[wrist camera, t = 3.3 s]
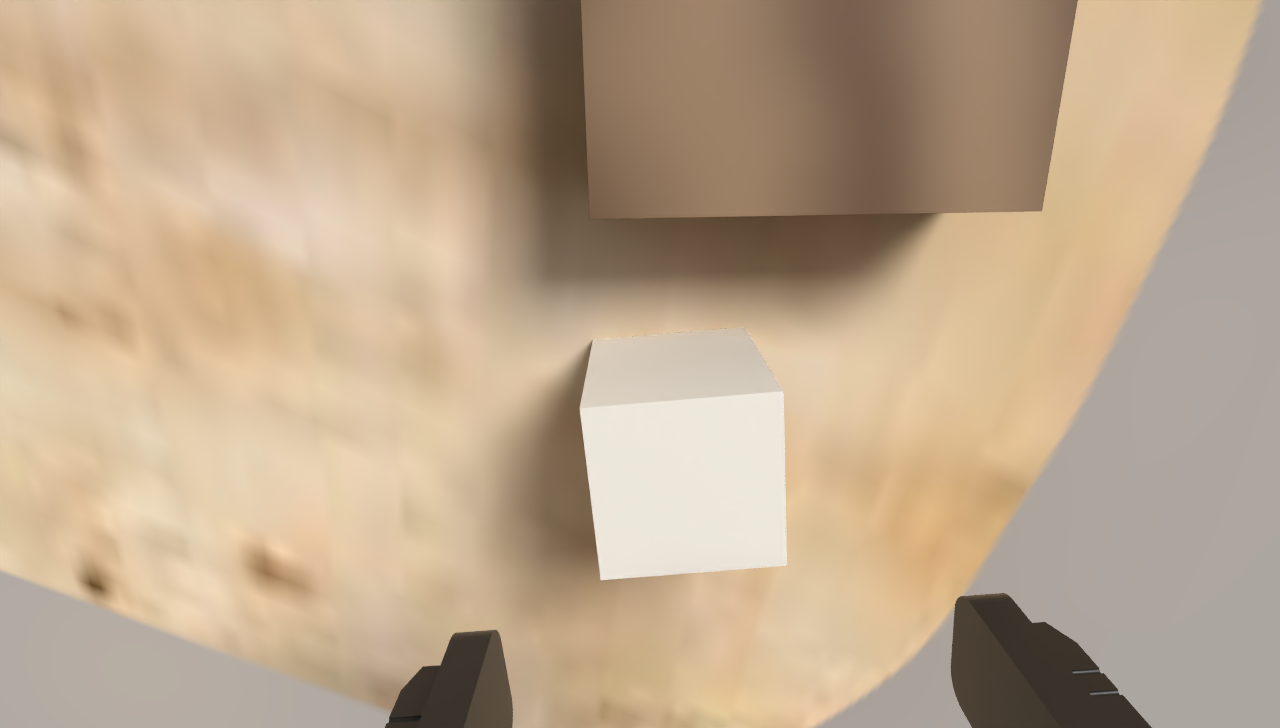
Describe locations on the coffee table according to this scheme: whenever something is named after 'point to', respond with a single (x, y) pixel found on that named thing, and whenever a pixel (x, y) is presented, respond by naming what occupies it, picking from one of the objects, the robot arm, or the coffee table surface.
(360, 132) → the coffee table surface
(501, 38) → the coffee table surface
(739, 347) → the cream block
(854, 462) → the coffee table surface
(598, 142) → the walnut block
